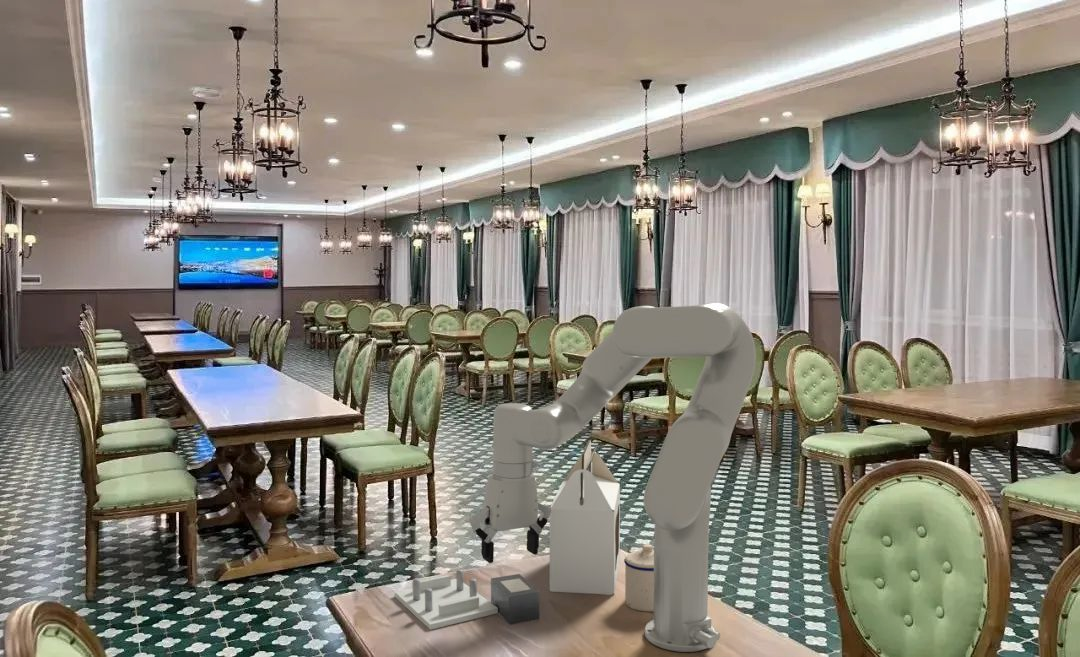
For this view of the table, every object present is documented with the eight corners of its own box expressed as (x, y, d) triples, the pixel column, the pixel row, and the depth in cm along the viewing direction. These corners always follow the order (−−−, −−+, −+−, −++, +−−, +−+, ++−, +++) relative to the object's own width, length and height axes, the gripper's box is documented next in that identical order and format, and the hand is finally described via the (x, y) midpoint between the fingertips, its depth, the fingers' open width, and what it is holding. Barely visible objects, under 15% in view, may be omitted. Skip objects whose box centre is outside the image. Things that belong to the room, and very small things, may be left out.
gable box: (614, 596, 162) (614, 459, 160) (549, 592, 164) (549, 457, 162) (619, 558, 184) (620, 437, 182) (562, 555, 186) (562, 435, 184)
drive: (539, 620, 151) (538, 591, 150) (509, 625, 148) (508, 596, 148) (518, 599, 160) (518, 572, 160) (490, 604, 158) (490, 577, 158)
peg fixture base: (497, 613, 153) (497, 587, 153) (430, 629, 146) (429, 603, 146) (457, 582, 169) (457, 559, 169) (394, 596, 162) (394, 572, 161)
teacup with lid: (674, 612, 153) (675, 553, 153) (627, 613, 153) (627, 553, 152) (662, 588, 165) (663, 533, 165) (619, 589, 165) (619, 533, 164)
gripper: (541, 460, 160) (538, 543, 161) (462, 469, 151) (461, 557, 152) (561, 468, 154) (558, 555, 155) (480, 478, 145) (478, 570, 146)
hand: (510, 556), depth 154 cm, fingers open, 9 cm apart
